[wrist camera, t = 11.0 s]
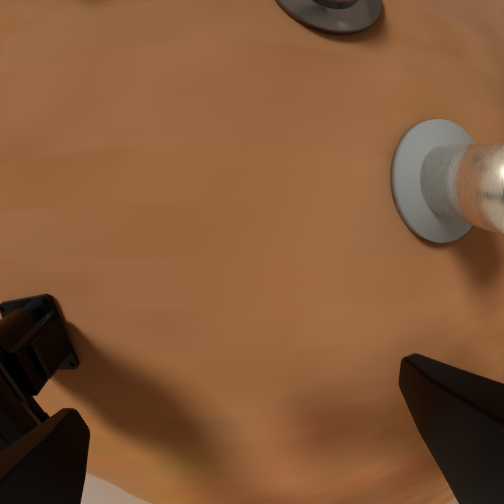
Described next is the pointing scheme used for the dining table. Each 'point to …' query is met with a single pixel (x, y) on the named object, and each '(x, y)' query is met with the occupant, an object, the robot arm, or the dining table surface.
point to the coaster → (408, 179)
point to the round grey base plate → (333, 14)
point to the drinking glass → (466, 184)
